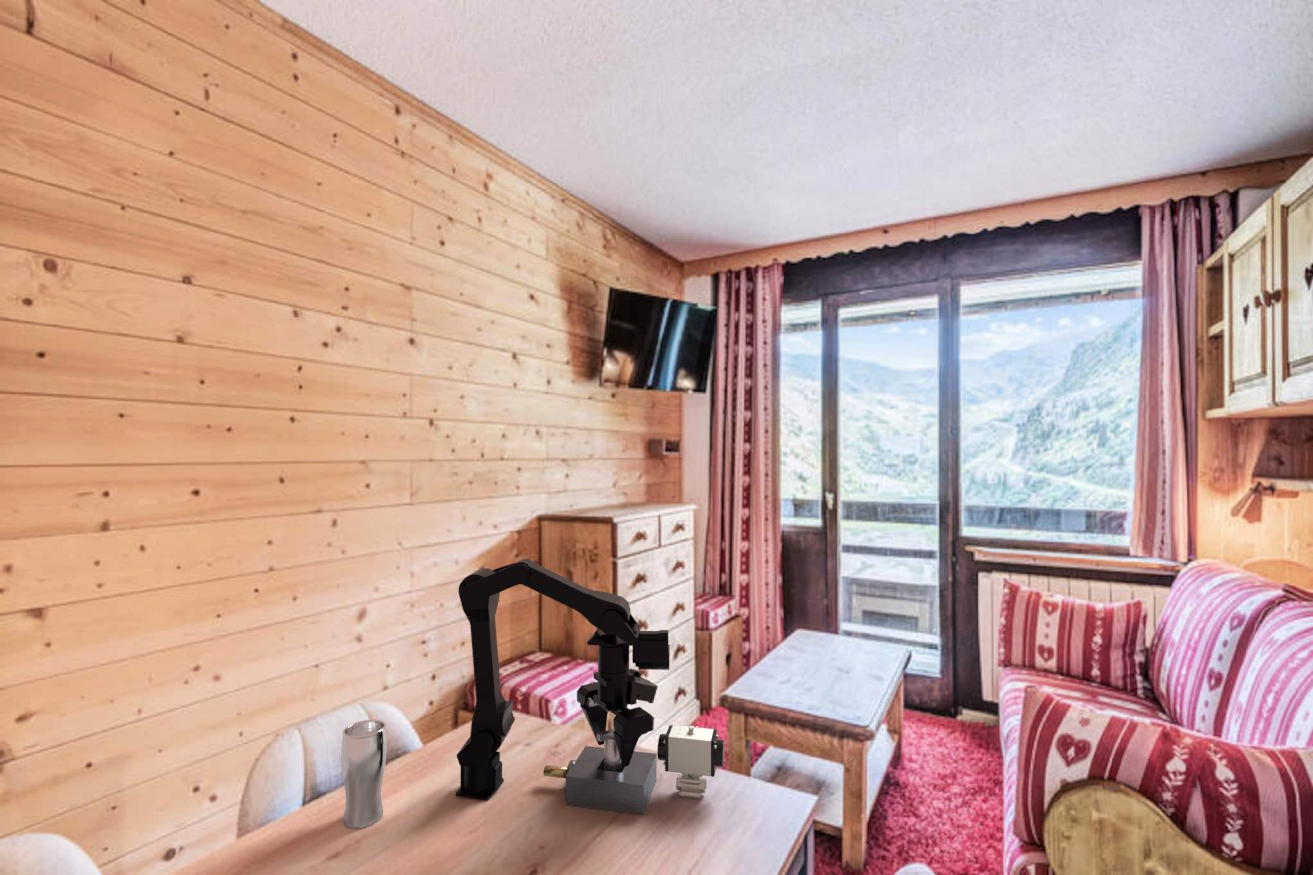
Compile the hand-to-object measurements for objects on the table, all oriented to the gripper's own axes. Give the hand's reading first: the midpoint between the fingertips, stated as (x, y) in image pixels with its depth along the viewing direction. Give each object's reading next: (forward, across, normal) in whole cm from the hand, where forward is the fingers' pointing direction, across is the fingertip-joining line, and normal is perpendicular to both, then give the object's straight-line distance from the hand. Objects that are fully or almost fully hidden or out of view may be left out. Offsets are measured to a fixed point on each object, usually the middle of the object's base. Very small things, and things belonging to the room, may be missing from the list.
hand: (613, 754), depth 109 cm
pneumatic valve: (+7, -8, -12) cm, 16 cm away
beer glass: (+7, +16, +39) cm, 43 cm away
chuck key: (+5, 0, 0) cm, 5 cm away
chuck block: (+7, +2, +2) cm, 7 cm away
